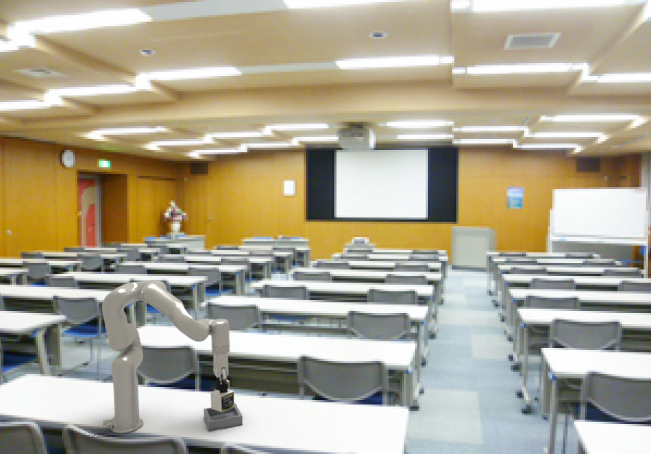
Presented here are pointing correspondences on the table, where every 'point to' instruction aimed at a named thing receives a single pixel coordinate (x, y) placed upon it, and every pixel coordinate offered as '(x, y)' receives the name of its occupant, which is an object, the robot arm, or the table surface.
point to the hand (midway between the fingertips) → (222, 389)
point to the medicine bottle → (222, 398)
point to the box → (222, 418)
